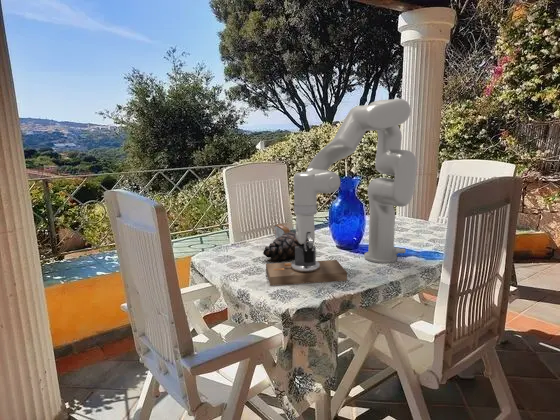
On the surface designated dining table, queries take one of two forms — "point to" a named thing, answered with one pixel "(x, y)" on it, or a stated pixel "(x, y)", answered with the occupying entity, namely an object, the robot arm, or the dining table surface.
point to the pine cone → (282, 248)
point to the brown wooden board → (305, 273)
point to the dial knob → (299, 261)
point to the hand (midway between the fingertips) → (305, 257)
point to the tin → (280, 230)
